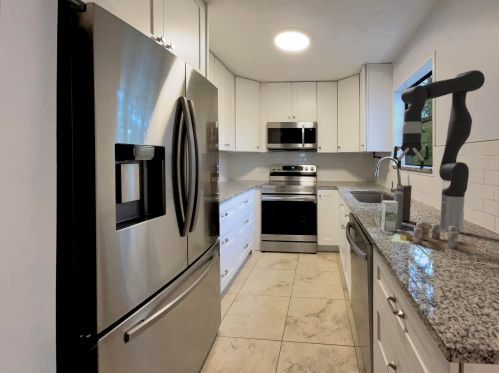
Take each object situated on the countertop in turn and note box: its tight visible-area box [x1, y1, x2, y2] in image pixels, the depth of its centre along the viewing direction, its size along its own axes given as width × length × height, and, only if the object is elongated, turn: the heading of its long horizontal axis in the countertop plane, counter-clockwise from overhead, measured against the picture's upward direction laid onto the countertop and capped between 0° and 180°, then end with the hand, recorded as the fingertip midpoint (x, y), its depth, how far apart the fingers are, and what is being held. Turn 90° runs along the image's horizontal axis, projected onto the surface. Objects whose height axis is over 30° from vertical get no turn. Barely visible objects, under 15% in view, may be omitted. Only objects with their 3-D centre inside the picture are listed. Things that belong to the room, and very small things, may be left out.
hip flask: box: [393, 186, 404, 230], centre depth 167 cm, size 16×4×20 cm, turn 159°
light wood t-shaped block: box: [421, 221, 431, 241], centre depth 131 cm, size 3×7×10 cm
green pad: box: [390, 233, 410, 245], centre depth 138 cm, size 6×16×1 cm, turn 149°
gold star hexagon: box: [399, 232, 412, 240], centre depth 136 cm, size 5×4×2 cm
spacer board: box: [408, 222, 478, 253], centre depth 130 cm, size 22×16×7 cm
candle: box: [397, 184, 412, 222], centre depth 180 cm, size 8×7×20 cm
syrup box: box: [380, 199, 398, 232], centre depth 156 cm, size 6×6×14 cm
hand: (410, 169), depth 146 cm, fingers open, 8 cm apart
